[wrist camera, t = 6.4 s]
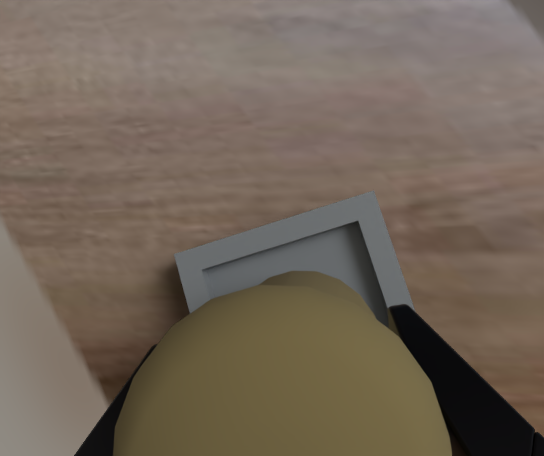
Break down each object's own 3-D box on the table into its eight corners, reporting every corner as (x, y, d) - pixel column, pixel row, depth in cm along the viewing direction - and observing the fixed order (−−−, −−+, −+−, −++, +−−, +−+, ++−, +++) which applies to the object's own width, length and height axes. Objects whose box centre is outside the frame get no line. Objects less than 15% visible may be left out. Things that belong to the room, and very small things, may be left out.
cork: (265, 459, 16) (139, 876, 5) (200, 310, 17) (-28, 370, 6) (413, 392, 15) (642, 669, 4) (338, 244, 16) (378, 173, 5)
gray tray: (442, 415, 18) (457, 432, 16) (246, 467, 19) (237, 490, 17) (368, 198, 19) (373, 190, 17) (188, 256, 20) (174, 254, 18)
